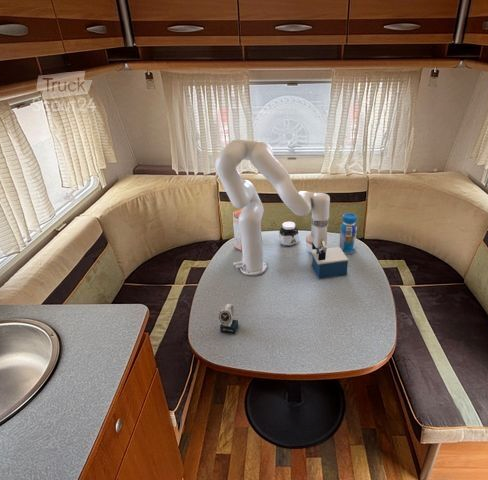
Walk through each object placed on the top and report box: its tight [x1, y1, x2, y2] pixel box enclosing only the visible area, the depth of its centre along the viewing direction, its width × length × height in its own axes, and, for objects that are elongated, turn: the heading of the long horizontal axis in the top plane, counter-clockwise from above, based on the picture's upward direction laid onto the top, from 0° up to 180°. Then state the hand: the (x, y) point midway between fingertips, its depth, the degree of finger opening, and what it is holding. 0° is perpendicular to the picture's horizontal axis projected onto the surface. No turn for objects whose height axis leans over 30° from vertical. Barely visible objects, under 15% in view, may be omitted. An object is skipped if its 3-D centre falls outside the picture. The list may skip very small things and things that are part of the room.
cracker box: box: [232, 208, 243, 252], centre depth 187 cm, size 14×6×21 cm, turn 136°
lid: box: [310, 246, 349, 265], centre depth 166 cm, size 14×12×5 cm
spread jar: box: [278, 221, 300, 248], centre depth 192 cm, size 12×11×12 cm
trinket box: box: [305, 233, 323, 253], centre depth 183 cm, size 11×11×9 cm
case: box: [311, 254, 349, 280], centre depth 169 cm, size 14×12×8 cm
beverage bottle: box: [338, 212, 358, 255], centre depth 181 cm, size 8×8×20 cm
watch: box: [218, 303, 239, 335], centre depth 133 cm, size 6×8×11 cm
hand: (318, 254), depth 165 cm, fingers open, 9 cm apart
